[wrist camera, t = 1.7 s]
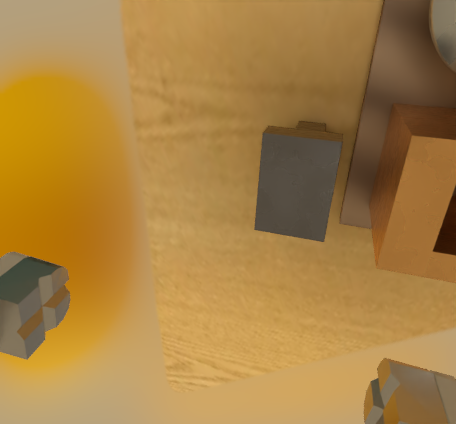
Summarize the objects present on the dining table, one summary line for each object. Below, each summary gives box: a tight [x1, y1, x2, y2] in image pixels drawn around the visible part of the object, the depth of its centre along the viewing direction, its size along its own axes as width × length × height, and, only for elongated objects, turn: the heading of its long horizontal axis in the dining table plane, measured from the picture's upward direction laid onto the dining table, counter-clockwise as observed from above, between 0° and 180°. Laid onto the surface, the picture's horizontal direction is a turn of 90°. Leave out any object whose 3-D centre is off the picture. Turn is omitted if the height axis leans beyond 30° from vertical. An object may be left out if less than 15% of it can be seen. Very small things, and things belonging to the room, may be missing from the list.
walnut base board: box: [340, 0, 456, 229], centre depth 30 cm, size 22×14×2 cm, turn 178°
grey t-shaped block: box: [254, 121, 343, 242], centre depth 30 cm, size 7×5×12 cm
